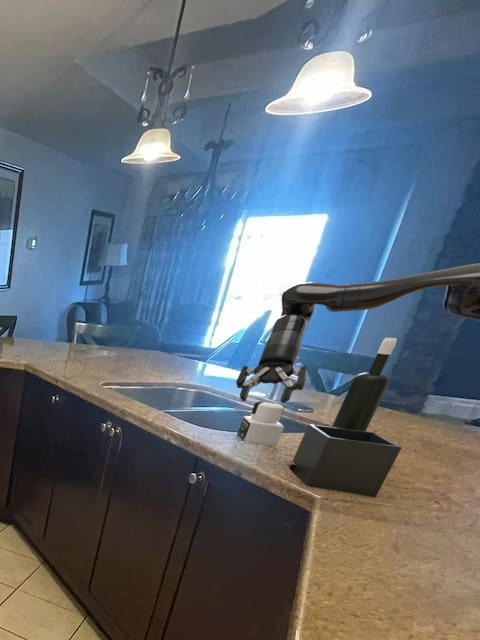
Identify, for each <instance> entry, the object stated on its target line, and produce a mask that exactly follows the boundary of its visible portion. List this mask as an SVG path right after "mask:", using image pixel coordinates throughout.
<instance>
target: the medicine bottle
mask: <svg viewBox="0 0 480 640" xmlns="http://www.w3.org/2000/svg"><path fill="white" fill-rule="evenodd" d="M285 408H286V407H285V406H284V405H283V403H281V402H276V401H270V400H258V401H256V402H254V405H253V408H252V410H251V413H250V415H244V416H243V417H242V420H241V423H240V425H239V428H238V430H237V433H236V435H237V436H238V437H239V439H240V440H241V441H242V442H245V443H246V442H247V443H253V444H260V445H261V444H262V445H268V446H273V447H277V446H278V443H279V441H280V439H281V436H282V434H283V432H284V429H285V426H284V425H283V424H282V423H281V422H279V421H280V420H281V418H282V416H283V413H284V411H285Z"/></svg>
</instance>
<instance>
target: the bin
mask: <svg viewBox="0 0 480 640" xmlns="http://www.w3.org/2000/svg"><path fill="white" fill-rule="evenodd" d="M402 449H403V447H402V446H401V445H399V444H397V443H395V442H393V441H391V440H389V439H388V438H386V437H384V436H383V435H381V434H379V433H377V432H375V431H367V430H366V431H359V430H351V429H343V428H335V427H332V426H326V425H319V424H311V423H309V424H308V425H307V426H306V428H305V432H304V434H303V436H302V438H301V441H300V443H299V445H298V447H297V449H296V452H295V454H294V457H293V459H292V462H293V464H290V466H289V468H288V469H289V470H290V471H291V473H293V474H294V475H295V476H296V477H297V478H298V479H299V480H300V479H301V480H302V481H303V482H304V483H305V484H306V485H309V486H308V487H312V486H315V487H314V488H318V487H321V488H320V489H324V488H326V489H325V490H330V489H332V491H336V490H337V491H336V492H342V491H343V492H344V493H348V492H349V493H350V494H354V493H355V495H362V496H367V497H373V498H377V496H378V494H379V492H380V490H381V488H382V486H383V484H384V482H385V480H386V479H387V477H388V475H389V473H390V471H391V469H392V467H393V465H394V463H395V462H396V459H397V458H398V456H399V454H400V452H401V450H402ZM301 480H300V481H301ZM302 481H301V482H302ZM303 482H302V483H303ZM304 483H303V484H304ZM305 484H304V485H305ZM306 485H305V486H306Z"/></svg>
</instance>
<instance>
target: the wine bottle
mask: <svg viewBox="0 0 480 640" xmlns="http://www.w3.org/2000/svg"><path fill="white" fill-rule="evenodd" d="M397 342H398V338H395V337H385V338H384V339H383V340H382V342H381V344H380V346H379V348H378V351H377V354H376V355H375V357H374V360H373V362H372V365H371V366H370V369H369V371H368V372H362V373H359V374H356V376H355V377H354V378H353V379H352V381H351V384H350V386H349V388H348V390H347V393H346V395H345V397H344V399H343V401H342V403H341V406H340V408H339V410H338V412H337V414H336V416H335V418H334V420H333V423H332V425H331V427H335V428H343V429H351V430H359V431H367V430H368V428H369V426H370V423H371V422H372V419H373V418H374V416H375V413H376V411H377V409H378V407H379V405H380V404H381V401H382V399H383V397H384V395H385V393H386V391H387V389H388V386H389V385H390V379H389V377H388V376H387V375H385V374H382V373H383V370H384V368H385V366H386V364H387V362H388V360H389V359H390V356H391V355H392V353H393V351H394V348H395V347H396V344H397Z"/></svg>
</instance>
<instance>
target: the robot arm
mask: <svg viewBox="0 0 480 640" xmlns="http://www.w3.org/2000/svg"><path fill="white" fill-rule="evenodd" d="M443 286H446V290H445V294H444V297H443V303H442V307H443V310H444V311H445V312H446V313H448V314H450V315H453V316H456V317H460V318H464V319H467V320H468V319H469V320H473V321H477V322H480V262H479V263H471V264H466V265H459V266H455V267H450V268H443V269H437V270H431V271H427V272H422V273H417V274H412V275H407V276H401V277H397V278H392V279H391V278H390V279H385V280H378V281H369V282H356V283H348V284H347V283H346V284H334V283H323V282H311V281H309V282H308V281H307V282H299V283H296V284H293V285H291V286H289V287H287V288H286V289H284V291H283V292H282V295H281V315H280V317H278V318H277V320H275V322H274V324H273V326H272V329H271V332H270V333H269V334H270V335H269V337H268V339H267V341H266V342H265V345H264V348H263V350H262V353H261V355H260V359H259V362H258V364H257V366H255V367H249V366H248V365H244V366H243V367H242V368H241V370H240V373H239V374H238V376H237V378H236V381H235V384H236V387H237V389H241V390H240V393H239V397H240V400H241V401H242V402H247V399H248V396H249V395H250V394H249V393H250V389H252V388H254V387H257V386H259V385H260V384H261V383H262V384H275V385H278V384H279V383H280V384H281V385H282V386H283V387H284V389H283V391H282V392H283V393H282V395H281V399H280V404H286V402H289V401H290V400H291V397H292V394H293V392H294V391H302V390H303V389H304V387H305V383H306V379H307V375H308V367H307V366H306V365H303V366H301V367H295V368H294V366H295V363H296V360H297V358H298V355H299V352H300V351H301V346H302V340H303V337H304V334H305V331H306V329H307V325H308V324H309V322H310V321H311V319H312V317H313V315H314V313H315V310H316V306H317V305H321V306H324V307H325V308H326V311H328V312H330V313H341V312H342V313H343V312H357V311H358V312H359V311H367V310H372V309H377V308H379V307H382V306H385V305H387V304H390V303H392V302H395V301H396V300H399V299H401V298H403V297H406V296H408V295H410V294H413V293H416V292H418V291H422V290H426V289H431V288H435V287H443ZM251 374H253V375H252V376H251ZM294 374H295V376H296V377H297V380H296V382H294V383H293V382H292V381H291V380H290V377H291V376H292V375H294ZM249 376H251V377H250V378H249V379H248V380H247V378H248V377H249Z"/></svg>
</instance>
